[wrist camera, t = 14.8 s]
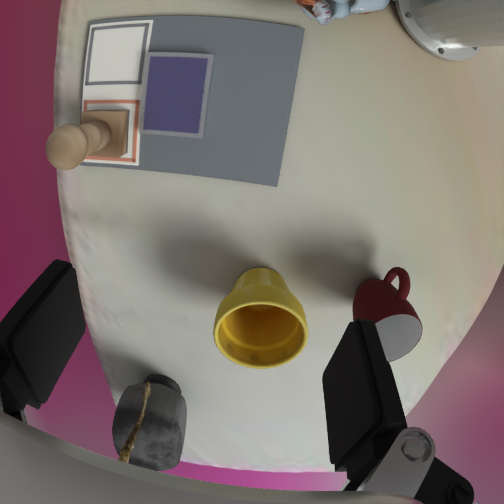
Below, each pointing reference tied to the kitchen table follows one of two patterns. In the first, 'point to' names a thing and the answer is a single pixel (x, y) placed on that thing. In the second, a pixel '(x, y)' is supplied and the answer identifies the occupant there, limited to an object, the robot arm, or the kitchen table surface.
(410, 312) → the mug
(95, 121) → the stamp
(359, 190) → the kitchen table surface
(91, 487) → the robot arm
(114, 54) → the paper sheet
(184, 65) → the ink pad
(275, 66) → the desk mat
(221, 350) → the plant pot
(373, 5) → the lucky cat figurine
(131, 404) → the pitcher
